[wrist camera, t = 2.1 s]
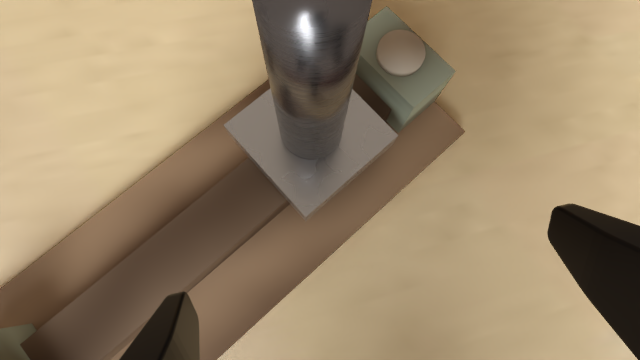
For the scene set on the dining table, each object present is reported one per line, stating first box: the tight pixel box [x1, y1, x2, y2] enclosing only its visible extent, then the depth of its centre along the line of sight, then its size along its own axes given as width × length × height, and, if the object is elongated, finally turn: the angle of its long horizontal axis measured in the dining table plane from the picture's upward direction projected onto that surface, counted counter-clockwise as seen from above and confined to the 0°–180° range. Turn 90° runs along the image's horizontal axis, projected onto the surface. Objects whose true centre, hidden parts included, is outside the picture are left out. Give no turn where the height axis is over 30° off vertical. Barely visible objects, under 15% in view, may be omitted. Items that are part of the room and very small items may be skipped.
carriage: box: [224, 0, 398, 221], centre depth 15 cm, size 6×6×11 cm
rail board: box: [0, 6, 465, 360], centre depth 20 cm, size 10×27×5 cm, turn 132°
